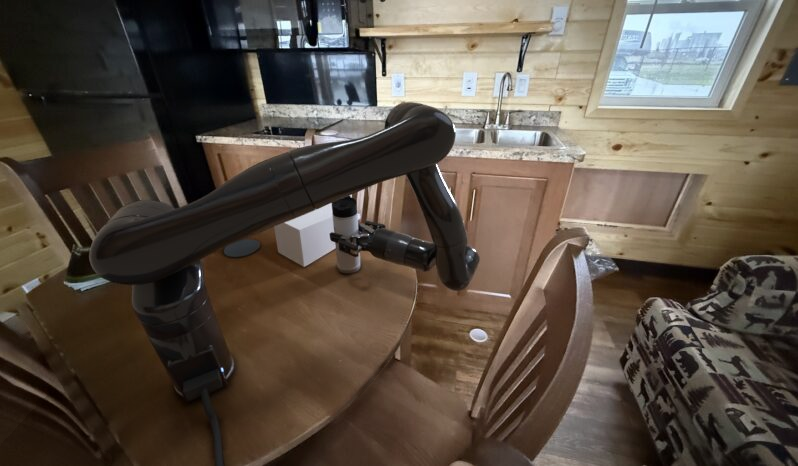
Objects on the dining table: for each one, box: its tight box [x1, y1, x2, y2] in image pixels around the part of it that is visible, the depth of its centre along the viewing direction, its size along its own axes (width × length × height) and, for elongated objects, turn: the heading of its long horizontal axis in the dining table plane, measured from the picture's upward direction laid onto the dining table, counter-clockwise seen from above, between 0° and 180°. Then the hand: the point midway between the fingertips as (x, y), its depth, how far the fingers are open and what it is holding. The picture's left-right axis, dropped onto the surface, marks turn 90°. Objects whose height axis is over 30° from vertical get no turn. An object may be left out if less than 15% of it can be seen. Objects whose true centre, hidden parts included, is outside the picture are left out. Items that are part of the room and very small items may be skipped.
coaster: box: [223, 238, 261, 259], centre depth 94 cm, size 10×10×1 cm
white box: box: [273, 203, 361, 268], centre depth 96 cm, size 12×12×26 cm
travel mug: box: [332, 195, 361, 274], centre depth 82 cm, size 6×7×20 cm
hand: (339, 230), depth 83 cm, fingers open, 6 cm apart
